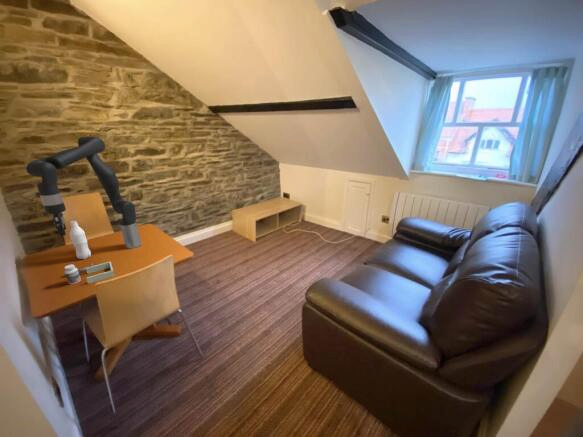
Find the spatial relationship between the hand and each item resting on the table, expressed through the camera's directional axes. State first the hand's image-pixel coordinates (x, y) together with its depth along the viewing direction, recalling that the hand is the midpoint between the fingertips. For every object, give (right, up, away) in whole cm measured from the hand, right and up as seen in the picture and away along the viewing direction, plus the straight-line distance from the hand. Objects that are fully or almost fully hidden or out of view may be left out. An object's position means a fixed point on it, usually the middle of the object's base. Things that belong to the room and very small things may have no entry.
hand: (63, 232), depth 125 cm
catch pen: (+9, -25, +13) cm, 30 cm away
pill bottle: (0, -28, +7) cm, 28 cm away
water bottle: (-15, -18, +30) cm, 38 cm away
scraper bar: (-4, -25, +14) cm, 29 cm away
